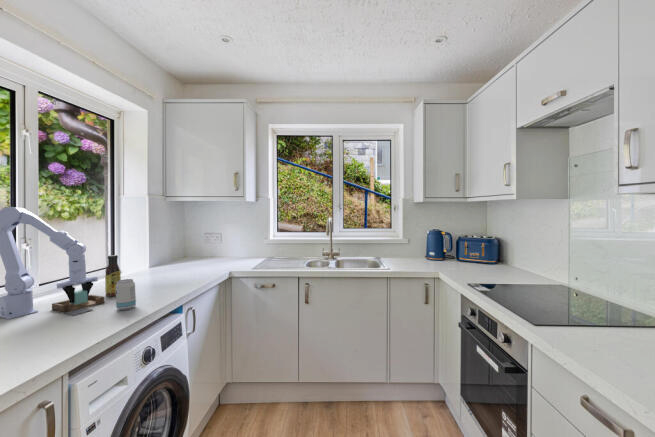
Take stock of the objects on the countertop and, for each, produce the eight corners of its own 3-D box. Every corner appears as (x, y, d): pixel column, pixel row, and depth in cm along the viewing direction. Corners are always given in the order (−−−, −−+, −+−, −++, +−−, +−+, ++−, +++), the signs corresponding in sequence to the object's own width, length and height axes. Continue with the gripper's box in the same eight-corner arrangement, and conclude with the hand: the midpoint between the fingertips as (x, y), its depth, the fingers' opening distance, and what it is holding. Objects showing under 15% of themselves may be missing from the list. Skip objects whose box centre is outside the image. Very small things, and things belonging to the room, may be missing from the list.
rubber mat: (73, 315, 123) (73, 314, 123) (64, 313, 126) (64, 312, 126) (93, 310, 129) (93, 309, 129) (83, 308, 132) (83, 307, 132)
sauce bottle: (113, 297, 149) (111, 256, 148) (102, 296, 150) (100, 256, 149) (124, 293, 155) (122, 254, 155) (114, 293, 156) (112, 254, 156)
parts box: (64, 313, 126) (64, 306, 126) (52, 310, 131) (51, 303, 131) (104, 302, 140) (104, 296, 140) (91, 300, 144) (91, 294, 144)
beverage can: (119, 307, 133) (117, 279, 132) (137, 305, 135) (136, 278, 135) (114, 312, 126) (113, 283, 126) (133, 309, 129) (132, 281, 128)
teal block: (75, 304, 132) (75, 293, 132) (70, 303, 134) (69, 292, 134) (87, 301, 136) (87, 290, 136) (81, 300, 138) (81, 289, 138)
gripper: (62, 274, 127) (64, 306, 127) (100, 267, 140) (102, 297, 140) (53, 273, 130) (55, 304, 130) (91, 266, 143) (93, 295, 143)
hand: (78, 300), depth 135 cm, fingers closed on teal block, 4 cm apart
